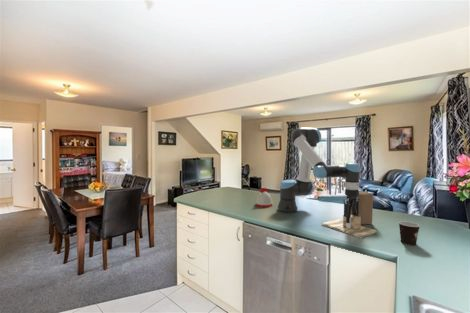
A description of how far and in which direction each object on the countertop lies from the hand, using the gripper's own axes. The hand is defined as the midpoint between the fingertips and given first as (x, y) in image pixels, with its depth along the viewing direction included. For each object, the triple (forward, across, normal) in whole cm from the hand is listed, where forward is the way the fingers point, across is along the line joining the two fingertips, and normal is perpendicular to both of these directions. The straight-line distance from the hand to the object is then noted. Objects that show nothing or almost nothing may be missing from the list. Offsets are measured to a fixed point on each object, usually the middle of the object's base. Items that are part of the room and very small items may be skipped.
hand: (351, 227), depth 141 cm
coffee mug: (+2, +5, -26) cm, 27 cm away
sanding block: (0, 0, 0) cm, 0 cm away
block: (+2, +18, +4) cm, 19 cm away
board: (+1, 0, +2) cm, 2 cm away
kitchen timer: (+1, -6, +73) cm, 73 cm away
